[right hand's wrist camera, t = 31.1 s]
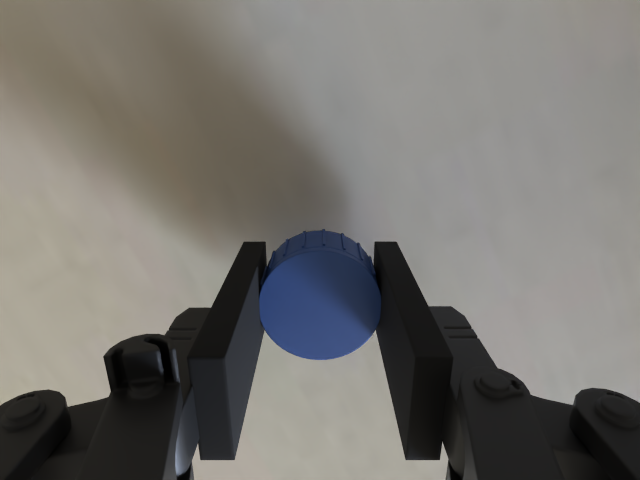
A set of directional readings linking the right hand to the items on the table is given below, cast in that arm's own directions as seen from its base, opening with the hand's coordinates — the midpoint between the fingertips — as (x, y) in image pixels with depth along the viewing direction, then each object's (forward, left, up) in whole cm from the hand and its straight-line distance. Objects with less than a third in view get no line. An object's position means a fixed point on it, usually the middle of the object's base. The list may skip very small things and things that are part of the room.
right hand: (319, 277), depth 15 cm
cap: (0, 0, +2) cm, 2 cm away
